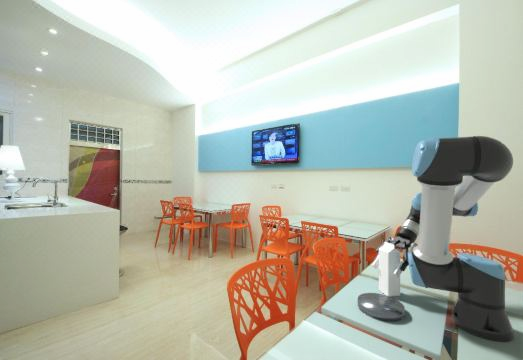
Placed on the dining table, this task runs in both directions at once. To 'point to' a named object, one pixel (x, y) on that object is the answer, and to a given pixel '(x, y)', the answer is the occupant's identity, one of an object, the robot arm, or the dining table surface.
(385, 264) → the milk
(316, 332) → the dining table surface
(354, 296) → the dining table surface
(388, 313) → the dark grey plate
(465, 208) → the robot arm
